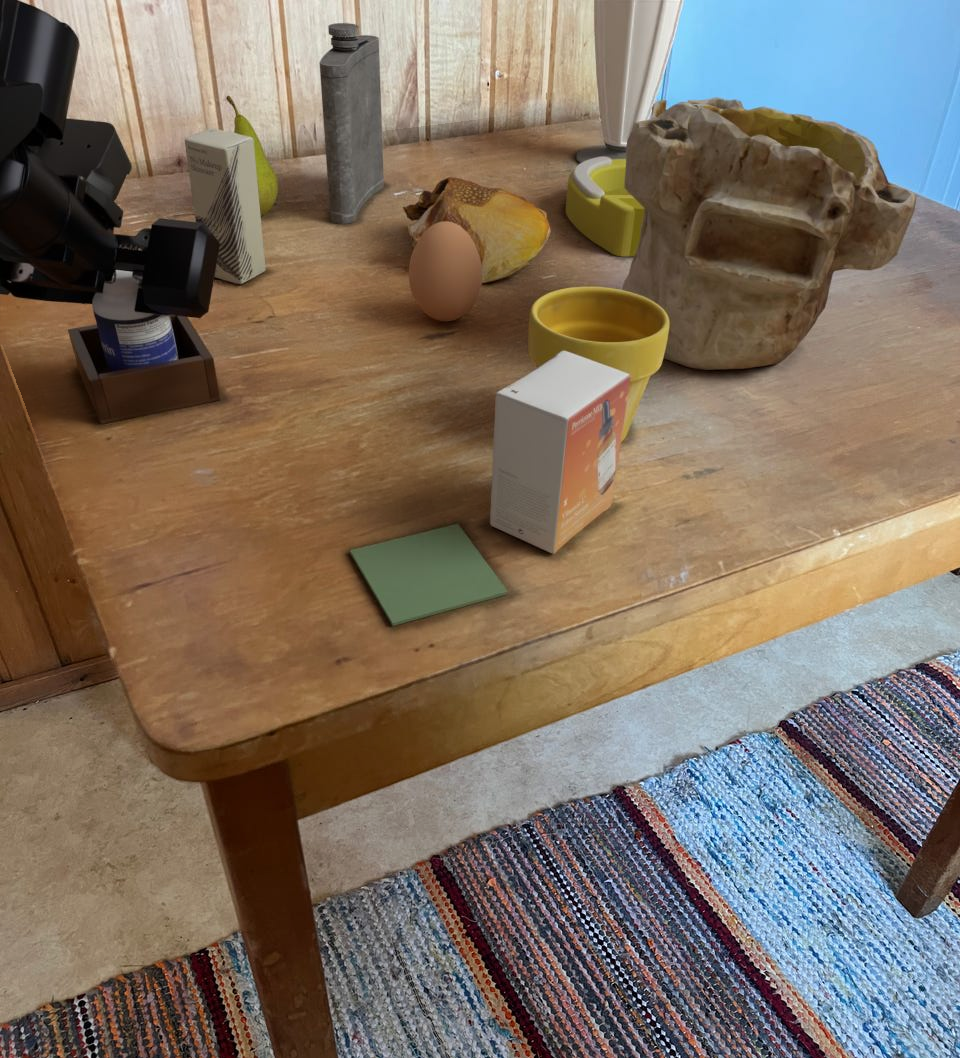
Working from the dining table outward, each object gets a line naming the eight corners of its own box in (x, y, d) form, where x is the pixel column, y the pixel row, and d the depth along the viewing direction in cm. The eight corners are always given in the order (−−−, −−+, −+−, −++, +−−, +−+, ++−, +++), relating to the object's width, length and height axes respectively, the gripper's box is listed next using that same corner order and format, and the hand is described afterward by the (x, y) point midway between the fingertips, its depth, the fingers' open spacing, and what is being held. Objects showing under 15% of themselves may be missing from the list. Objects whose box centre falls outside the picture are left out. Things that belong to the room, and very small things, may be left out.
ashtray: (581, 256, 105) (586, 208, 102) (557, 190, 121) (560, 146, 117) (731, 256, 107) (741, 209, 103) (688, 191, 122) (695, 147, 118)
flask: (320, 221, 111) (306, 38, 98) (358, 180, 121) (349, 10, 109) (351, 225, 110) (341, 41, 98) (386, 183, 120) (381, 12, 108)
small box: (553, 557, 67) (566, 420, 60) (487, 526, 69) (493, 391, 62) (614, 505, 72) (634, 372, 64) (551, 477, 74) (563, 347, 67)
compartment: (101, 424, 78) (89, 380, 75) (78, 371, 84) (67, 328, 81) (220, 400, 81) (213, 357, 78) (190, 350, 87) (183, 309, 85)
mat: (392, 626, 61) (392, 622, 61) (350, 553, 66) (349, 550, 66) (507, 594, 64) (507, 591, 64) (457, 526, 69) (458, 523, 69)
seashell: (566, 195, 107) (542, 219, 95) (551, 266, 111) (525, 298, 99) (421, 158, 108) (379, 177, 96) (411, 229, 112) (369, 256, 100)
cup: (607, 179, 124) (630, -25, 109) (559, 153, 131) (574, -42, 117) (680, 167, 128) (711, -30, 114) (629, 142, 136) (652, -46, 121)
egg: (444, 341, 90) (445, 243, 84) (394, 317, 93) (392, 221, 87) (495, 319, 94) (499, 224, 87) (445, 297, 97) (446, 203, 91)
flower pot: (584, 384, 85) (597, 272, 78) (676, 433, 79) (699, 318, 72) (496, 423, 80) (501, 307, 73) (587, 478, 74) (603, 358, 67)
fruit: (276, 226, 109) (263, 107, 101) (224, 224, 109) (207, 105, 101) (285, 208, 113) (273, 92, 105) (234, 206, 113) (219, 90, 105)
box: (201, 275, 99) (178, 137, 90) (229, 260, 102) (209, 125, 93) (243, 286, 97) (224, 147, 88) (270, 271, 100) (254, 135, 91)
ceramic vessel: (895, 207, 95) (980, 1, 71) (835, 438, 93) (902, 306, 68) (666, 170, 100) (672, -35, 76) (602, 389, 97) (587, 249, 73)
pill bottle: (108, 371, 83) (79, 254, 76) (177, 361, 85) (155, 246, 78) (115, 403, 79) (85, 283, 73) (187, 393, 81) (164, 274, 74)
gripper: (185, 100, 62) (267, 217, 78) (-81, 75, 65) (49, 194, 80) (155, 270, 62) (243, 354, 78) (-111, 239, 64) (26, 327, 80)
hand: (139, 302), depth 79 cm, fingers closed on pill bottle, 6 cm apart
